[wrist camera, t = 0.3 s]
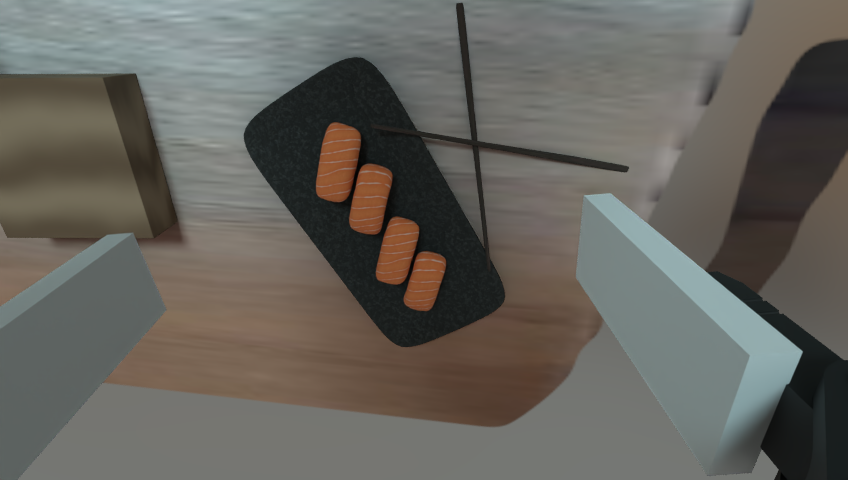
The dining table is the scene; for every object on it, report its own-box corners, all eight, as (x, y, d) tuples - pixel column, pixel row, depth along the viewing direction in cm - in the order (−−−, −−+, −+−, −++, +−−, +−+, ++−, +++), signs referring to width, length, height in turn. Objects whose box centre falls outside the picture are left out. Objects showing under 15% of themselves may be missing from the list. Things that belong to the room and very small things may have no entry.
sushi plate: (237, 127, 39) (218, 135, 35) (538, -72, 32) (551, -85, 28) (399, 344, 50) (397, 367, 46) (652, 232, 42) (671, 249, 39)
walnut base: (-21, 74, 37) (-70, 78, 33) (135, 73, 37) (102, 77, 33) (43, 220, 43) (7, 237, 39) (177, 221, 43) (153, 238, 39)
